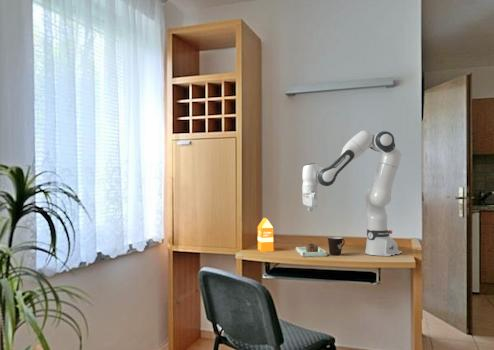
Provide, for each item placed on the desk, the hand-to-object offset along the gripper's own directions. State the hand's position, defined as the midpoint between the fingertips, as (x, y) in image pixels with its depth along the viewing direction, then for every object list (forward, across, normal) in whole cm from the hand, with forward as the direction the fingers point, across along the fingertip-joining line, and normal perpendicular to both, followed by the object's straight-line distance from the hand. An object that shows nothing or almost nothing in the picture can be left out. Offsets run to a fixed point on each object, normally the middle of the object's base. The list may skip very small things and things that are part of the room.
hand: (310, 213), depth 253 cm
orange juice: (+24, +12, +25) cm, 37 cm away
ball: (+22, -4, 0) cm, 22 cm away
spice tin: (+20, 0, 0) cm, 20 cm away
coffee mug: (+24, -7, -14) cm, 29 cm away
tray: (+24, -2, 0) cm, 24 cm away
